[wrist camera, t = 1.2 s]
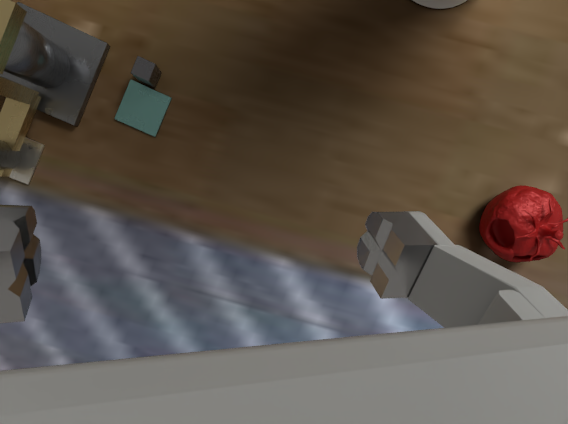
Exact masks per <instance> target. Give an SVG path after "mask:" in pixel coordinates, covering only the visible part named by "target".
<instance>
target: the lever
mask: <svg viewBox="0 0 568 424" xmlns="http://www.w3.org/2000/svg"><path fill="white" fill-rule="evenodd" d="M26 13H27V11H26V10H24V9H23V8H22V7H20V6H19V5H18V4H16V3H15V2H12V1H10V0H0V74H3V71H4V69H5V66H6V64H7V61H8V59H9V56H10V54H11V51H12V49H13V46H14V44H15V41H16V39H17V36H18V34H19V31H20V28H21V26H22V23H23V21H24V18H25V16H26ZM38 94H39V92H37V91H35V90H33V89H30V88H28V87H26V86H24V85H21V84H19V83H17V82H14V81H12V80H9V79H7V78H4V77H2V76H0V96H3V97H6V100H5V102H4V105H3V107H2V110H1V112H0V176H1V177H9V176H10V174H11V171H12V169H14V168H16V167H17V166H18V165H19V164H20V162H21V158H22V155H21V151H20V149H21V146H22V144H23V142H24V139H25V137H26V134H27V132H28V129H29V127H30V124H31V122H32V119H33V117H34V114H35V112H36V109H37V107H38V104H39V102H40V99H41V97H40V96H38Z"/></svg>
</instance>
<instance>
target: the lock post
mask: <svg viewBox="0 0 568 424" xmlns="http://www.w3.org/2000/svg"><path fill="white" fill-rule="evenodd" d="M17 4H18V5H19V6H20V7H22V8H23V9H24V10H26V11H27V13H26V16H25V18H24V21H23V23H22V26H21V28H20V31H19V34H18V36H17V39H16V41H15V44H14V46H13V49H12V51H11V54H10V56H9V59H8V61H7V64H6V66H5V69H4V71H3V74H0V76H2V77H4V78H7V79H9V80H12V81H14V82H17V83H19V84H21V85H24V86H26V87H28V88H30V89H33V90H35V91H37V92H39V94H38V96H40V97H41V99H40V102H39V104H38V107H37V110H39V111H42V112H44V113H46V114H49V115H51V116H53V117H56V118H58V119H60V120H63V121H65V122H67V123H70V124H72V125H75V126H78V125H79V122H80V120H81V117H82V115H83V112H84V110H85V107H86V105H87V103H88V100H89V98H90V95H91V93H92V90H93V88H94V85H95V83H96V80H97V78H98V76H99V73H100V71H101V68H102V66H103V63H104V61H105V58H106V56H107V54H108V51H109V49H110V46H109V45H108V44H107V43H105V42H103V41H101V40H99V39H97V38H95V37H93V36H90V35H88V34H86V33H84V32H82V31H80V30H77V29H75V28H73V27H71V26H69V25H67V24H65V23H62V22H60V21H58V20H56V19H54V18H52V17H50V16H47V15H45V14H43V13H41V12H39V11H37V10H35V9H32V8H30V7H28V6H26V5H24V4H22V3H20V2H17ZM161 73H162V72H161V71H160V69H159V68H158V67H157V65H156V64H154V63H152V62H150V61H148V60H146V59H144V58H141V57H139V56H138V57H137V59H136V61H135V64H134V66H133V69H132V71H131V74H132V75H133V76H134V77H135V78H136V79H137V80H139V81H140V82H142V83H145V84H147V85H149V86H151V87H153V88H156V86H157V83H158V81H159V78H160V76H161ZM171 99H172V98H171V97H168V96H166V95H164V94H162V93H160V92H157V91H155V90H153V89H151V88H149V87H146V86H144V85H142V84H140V83H138V82H135V81H133V80H130V82H129V85H128V87H127V89H126V92H125V94H124V97H123V99H122V102H121V104H120V106H119V109H118V111H117V114H116V116H115V119H116V120H118V121H120V122H122V123H125V124H127V125H129V126H132V127H134V128H136V129H138V130H141V131H143V132H145V133H148V134H150V135H152V136H154V137H156V135H157V133H158V130H159V128H160V125H161V123H162V121H163V118H164V116H165V113H166V111H167V109H168V106H169V104H170V101H171ZM44 147H45V145H44V144H41V143H39V142H37V141H34V140H32V139H29V138H27V137H25V139H24V142H23V144H22V146H21V149H20V151H21V155H22V158H21V162H20V164H19V165H18V166H17V167H16V168H14V169H12V171H11V174H10V176H9V177H10V178H13V179H15V180H18V181H20V182H23V183H25V184H28V185H29V184H30V182H31V179H32V177H33V174H34V172H35V169H36V167H37V164H38V162H39V159H40V157H41V154H42V152H43V149H44Z"/></svg>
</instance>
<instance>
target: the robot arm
mask: <svg viewBox="0 0 568 424" xmlns="http://www.w3.org/2000/svg"><path fill="white" fill-rule="evenodd" d="M413 1H414V2H416V3H418V4H420V5H423V6H426V7H430V8H436V9H444V8H451V7H454V6H457V5H460V4H462V3H464V2H466V1H467V0H413ZM36 224H37V221H36V216H35V210H34V209H33V207H32V206H18V205H0V323H9V322H21V321H25V318H26V315H27V312H28V309H29V306H30V302H31V299H32V293H31V286H32V285H33V284H35V283H36V282H37V280H38V276H39V273H40V265H41V247H40V240H39V239H38V238H37V237H36V236H35V235H34V234H33V233H34V230H35V227H36ZM365 225H366V228H367V230H368V231H367V232H366V233H365V234H364V235H362V236H361V237H360V240H359V243H358V247H357V257H358V260H359V264H360V265H361V267H362V269H363V270H364V271H366V272H367V273H369V274H370V275H372V276H371V280H370V282H371V283H372V285H373V286H374V288H375V290H376V291H377V293H378V294H379V296H380V298H408V299H409V300H410V301H411V302H412V303H414V304H415V305H416V306H418V307H419V308H420V309H421V310H423V311H424V312H425V313H426V314H428V315H429V316H430V317H432V318H433V319H434V320H435V321H437V322H438V323H439V324H440V325H442V326H443V327H444V328H439V329H428V330H418V331H407V332H397V333H386V334H376V335H365V336H355V337H344V338H334V339H323V340H313V341H303V342H293V343H283V344H272V345H262V346H252V347H242V348H232V349H221V350H211V351H201V352H191V353H180V354H170V355H160V356H149V357H139V358H129V359H118V360H108V361H98V362H87V363H77V364H66V365H56V366H46V367H35V368H25V369H15V370H4V371H0V424H568V310H567V309H566V308H565V307H564V306H563V305H562V304H561V303H560V302H559V301H558V300H556V299H555V298H554V297H553V296H552V295H551V294H550V293H549V292H548V291H547V290H546V289H545V288H544V287H542V286H540V285H538V284H536V283H534V282H532V281H530V280H528V279H526V278H524V277H522V276H520V275H518V274H516V273H514V272H512V271H510V270H508V269H506V268H504V267H502V266H500V265H498V264H496V263H494V262H492V261H490V260H488V259H486V258H484V257H482V256H480V255H478V254H476V253H474V252H472V251H470V250H468V249H466V248H464V247H462V246H460V245H454V244H453V243H452V242H451V241H450V240H449V238H448V237H447V236H446V235H445V234H444V233H443V232H442V231H441V230H440V229H439V228H438V227H437V226H436V225H435V224H434V223H433V222H432V221H431V220H430V219H429V218H428V217H427V215H426V214H425V213H422V212H420V211H407V212H372V213H371V214H370V215H369V216H368V218H367V221H366V224H365Z"/></svg>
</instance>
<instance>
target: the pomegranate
mask: <svg viewBox="0 0 568 424" xmlns="http://www.w3.org/2000/svg"><path fill="white" fill-rule="evenodd" d="M562 217H563V216H562V210H561V207H560V205H559V204H558V202H557V201H556V199H555V198H554V197H553V195H551V194H550V193H548V192H546V191H543V190H540V189H537V188H534V187H529V186H515V187H512V188H510V189H508V190H506V191H504V192H502V193H501V194H499V195H497V196H496V197H495V198H494V199H492V200H491V201H490V202H489V203H488V204H487V206H486V208H485V210H484V212H483V214H482V216H481V220H480V224H479V230H480V234H481V236H482V238H483V240H484V242H485V243H486V245H487V246H488V247H489V248H490V249H491V250H493V252H494V253H495V254H496V255H498V256H499V257H500V258H502V259H504V260H507V261H509V262H512V261H513V262H522V261H524V262H526V261H532V260H541V259H544V258H547V257H549V256H550V255H552V254H553V253H554V252H555V250H556V249H557V246H558V245H559V246H560V247H561V248H563V249H565V248H564V247H563V245H562V243H561V242H560V240H561V239H562V238H563V233H562V232H563V223H564V222H567V221H568V218H567V219H566V220H564V221H563V219H562Z"/></svg>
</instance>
